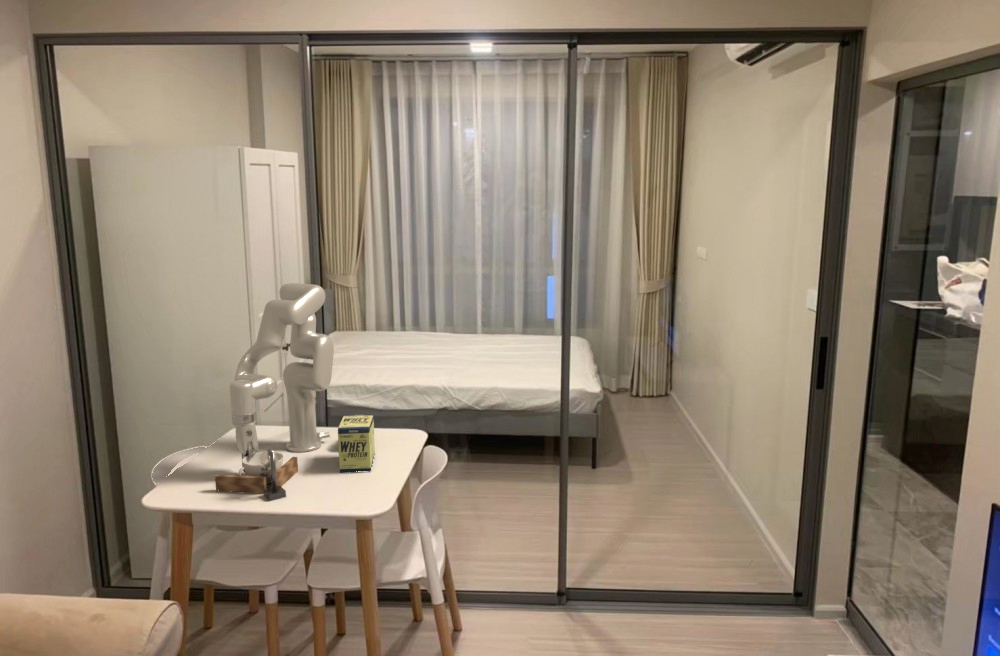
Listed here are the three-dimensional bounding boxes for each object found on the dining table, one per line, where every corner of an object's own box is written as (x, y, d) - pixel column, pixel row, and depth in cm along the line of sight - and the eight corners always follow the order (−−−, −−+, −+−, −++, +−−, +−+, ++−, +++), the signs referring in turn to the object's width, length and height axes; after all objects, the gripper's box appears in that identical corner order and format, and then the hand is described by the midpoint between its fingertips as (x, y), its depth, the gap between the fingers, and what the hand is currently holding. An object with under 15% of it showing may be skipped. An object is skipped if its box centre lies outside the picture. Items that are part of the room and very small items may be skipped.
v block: (296, 470, 239) (296, 456, 238) (311, 481, 230) (310, 467, 229) (215, 490, 224) (213, 475, 223) (227, 503, 214) (225, 487, 213)
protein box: (339, 473, 236) (337, 428, 233) (345, 456, 252) (343, 414, 249) (371, 472, 237) (369, 427, 234) (375, 455, 252) (373, 413, 250)
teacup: (269, 470, 239) (268, 448, 237) (292, 480, 231) (291, 457, 230) (228, 484, 227) (227, 460, 226) (250, 494, 219) (249, 470, 218)
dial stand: (279, 490, 223) (276, 447, 220) (286, 496, 218) (283, 453, 216) (262, 494, 220) (259, 451, 217) (269, 501, 215) (266, 457, 213)
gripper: (262, 421, 228) (266, 475, 232) (249, 410, 240) (253, 461, 244) (238, 426, 224) (242, 481, 228) (226, 414, 236) (231, 466, 240)
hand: (248, 470), depth 236 cm, fingers closed
